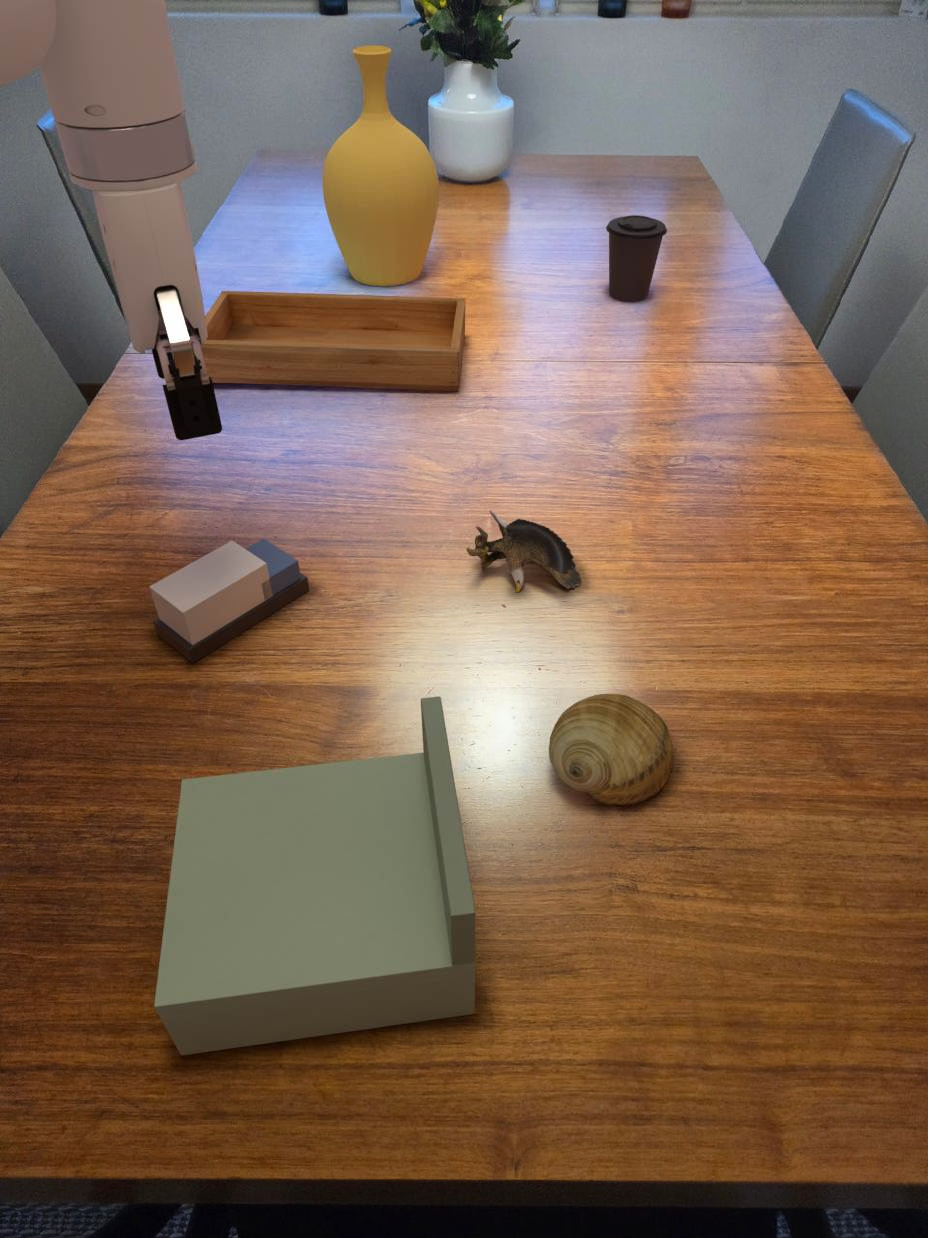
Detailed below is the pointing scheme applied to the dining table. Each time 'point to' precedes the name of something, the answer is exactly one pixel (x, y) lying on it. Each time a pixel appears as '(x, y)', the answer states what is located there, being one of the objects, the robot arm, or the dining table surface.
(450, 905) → the olive lipped platform
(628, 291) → the coffee cup
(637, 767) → the seashell
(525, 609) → the dining table surface
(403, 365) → the tray
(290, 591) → the black base with blocks
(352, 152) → the vase
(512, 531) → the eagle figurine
